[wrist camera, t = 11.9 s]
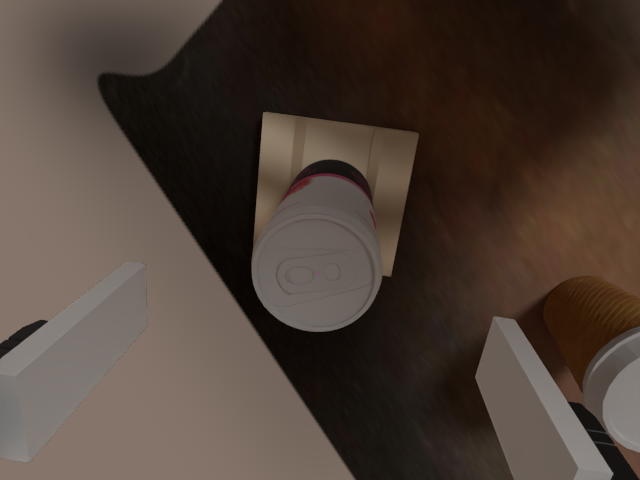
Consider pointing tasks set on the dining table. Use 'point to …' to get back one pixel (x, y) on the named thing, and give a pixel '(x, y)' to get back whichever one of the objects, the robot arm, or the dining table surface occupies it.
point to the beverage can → (320, 250)
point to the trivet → (345, 145)
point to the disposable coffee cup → (601, 350)
